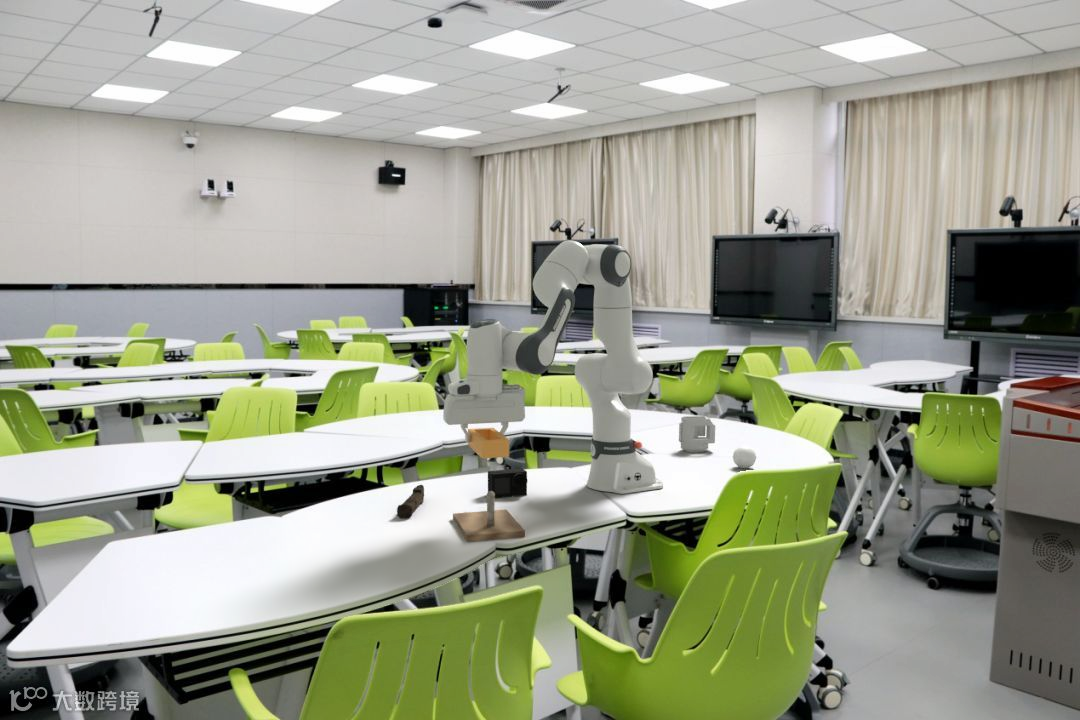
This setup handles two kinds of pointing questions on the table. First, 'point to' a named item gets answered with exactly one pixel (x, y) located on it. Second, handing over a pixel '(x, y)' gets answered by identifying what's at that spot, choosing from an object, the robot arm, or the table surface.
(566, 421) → the table surface
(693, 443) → the cable organizer
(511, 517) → the board
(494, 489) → the digital camera
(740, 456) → the grey rounded knob
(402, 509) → the brown wooden log
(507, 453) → the small orange storage bin
